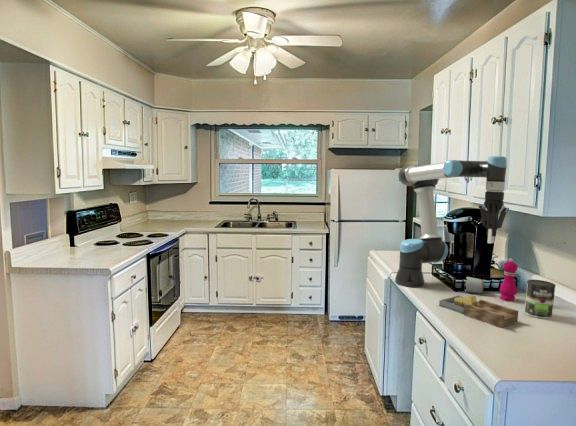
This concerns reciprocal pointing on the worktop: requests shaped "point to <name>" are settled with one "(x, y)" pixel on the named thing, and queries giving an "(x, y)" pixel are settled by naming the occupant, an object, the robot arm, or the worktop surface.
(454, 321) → the worktop surface
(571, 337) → the worktop surface
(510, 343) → the worktop surface
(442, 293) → the worktop surface
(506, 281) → the pepper mill
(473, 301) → the yellow cube
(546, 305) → the coffee can
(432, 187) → the robot arm
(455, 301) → the tan cube
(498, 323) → the channel bar
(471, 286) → the ceramic mug
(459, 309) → the tray
